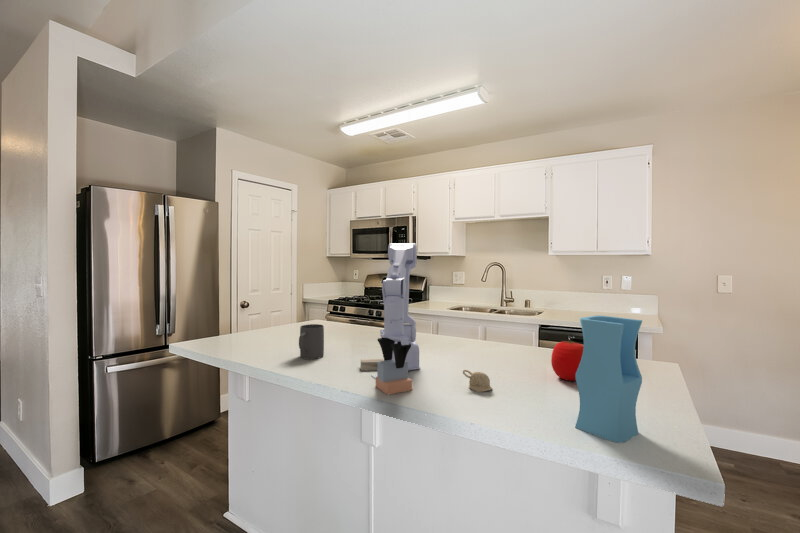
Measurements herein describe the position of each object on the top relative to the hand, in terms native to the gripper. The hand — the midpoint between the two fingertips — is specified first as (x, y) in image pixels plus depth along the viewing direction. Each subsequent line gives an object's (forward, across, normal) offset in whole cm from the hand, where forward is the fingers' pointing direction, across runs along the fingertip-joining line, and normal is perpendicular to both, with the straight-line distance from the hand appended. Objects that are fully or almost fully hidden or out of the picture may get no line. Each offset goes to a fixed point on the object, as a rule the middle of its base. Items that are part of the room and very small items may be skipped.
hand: (393, 364), depth 112 cm
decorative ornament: (+7, +12, +22) cm, 26 cm away
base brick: (+7, 0, 0) cm, 7 cm away
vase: (+7, +47, +30) cm, 56 cm away
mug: (+7, -46, -13) cm, 48 cm away
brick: (+8, -22, +3) cm, 23 cm away
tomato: (+7, +19, +54) cm, 58 cm away
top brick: (+4, 0, 0) cm, 4 cm away
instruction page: (+7, -11, +3) cm, 13 cm away
